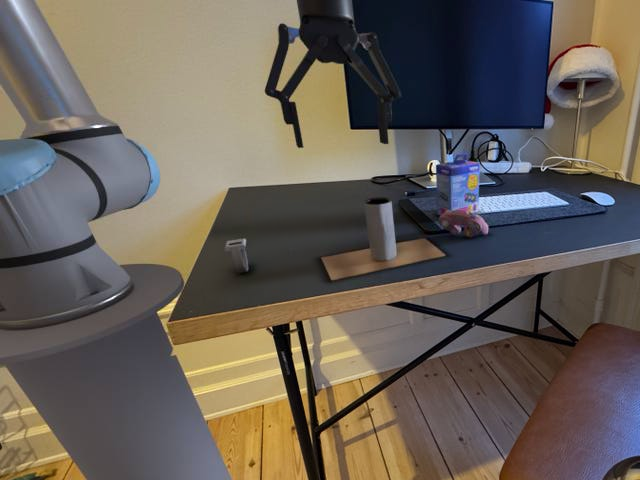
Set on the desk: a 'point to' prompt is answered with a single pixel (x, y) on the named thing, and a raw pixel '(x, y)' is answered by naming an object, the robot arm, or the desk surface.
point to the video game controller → (463, 222)
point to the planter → (380, 228)
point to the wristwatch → (238, 254)
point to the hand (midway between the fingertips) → (344, 145)
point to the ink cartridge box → (457, 185)
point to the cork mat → (363, 262)
